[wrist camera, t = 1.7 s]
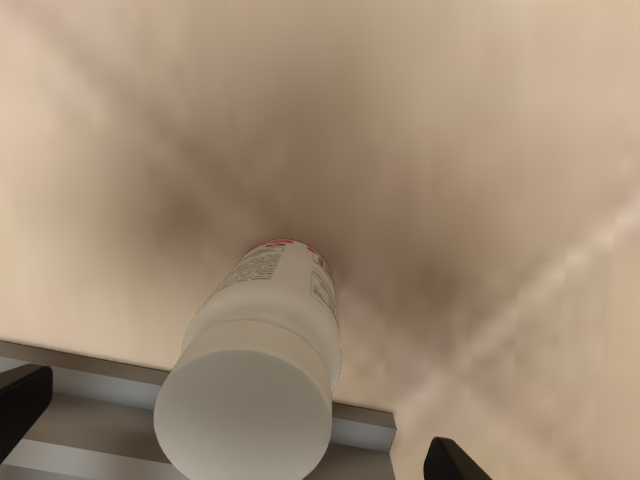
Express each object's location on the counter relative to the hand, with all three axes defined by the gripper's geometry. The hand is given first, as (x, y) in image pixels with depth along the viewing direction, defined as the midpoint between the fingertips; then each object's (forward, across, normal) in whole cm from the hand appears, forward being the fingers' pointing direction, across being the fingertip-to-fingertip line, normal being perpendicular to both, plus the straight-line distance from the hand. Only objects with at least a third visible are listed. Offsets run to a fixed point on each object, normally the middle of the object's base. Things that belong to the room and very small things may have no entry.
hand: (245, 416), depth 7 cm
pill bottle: (+8, 0, 0) cm, 8 cm away
